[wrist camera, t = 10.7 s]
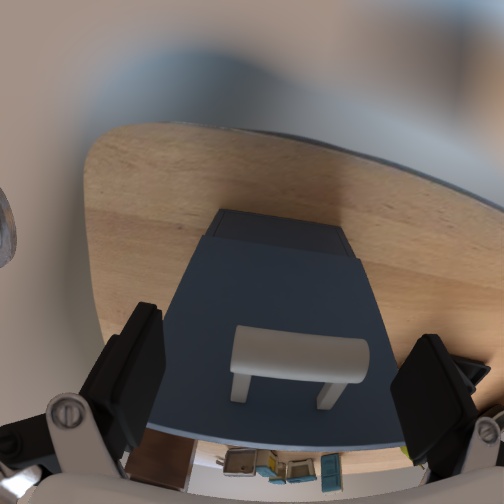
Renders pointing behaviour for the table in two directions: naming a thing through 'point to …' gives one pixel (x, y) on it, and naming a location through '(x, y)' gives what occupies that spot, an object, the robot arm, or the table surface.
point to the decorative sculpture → (239, 462)
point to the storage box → (280, 232)
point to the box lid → (276, 352)
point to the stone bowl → (496, 416)
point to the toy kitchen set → (301, 471)
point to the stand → (163, 460)
